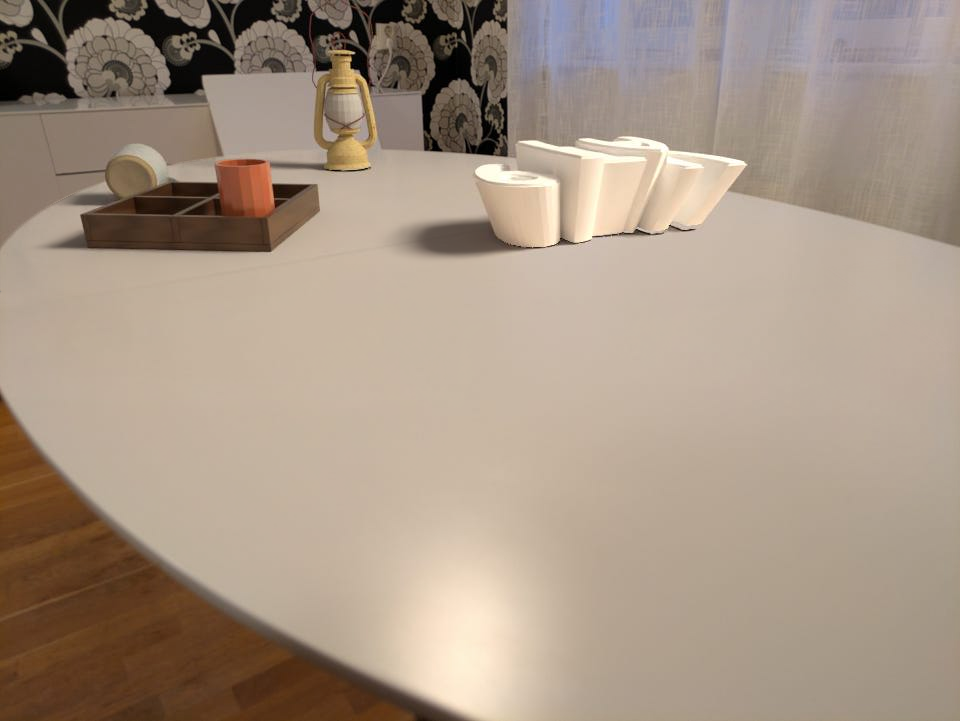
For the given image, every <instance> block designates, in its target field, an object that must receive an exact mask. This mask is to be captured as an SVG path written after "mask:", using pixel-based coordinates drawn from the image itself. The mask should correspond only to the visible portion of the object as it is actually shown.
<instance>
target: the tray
mask: <svg viewBox="0 0 960 721" xmlns="http://www.w3.org/2000/svg"><path fill="white" fill-rule="evenodd" d="M272 188H273V196H274V205H275V209H274V210H272V211H271V212H269V213H268V214H266V215H265V216H263V217H255V216H222V210H221V204H220V197H219V190H218V184H217V181H181V182H173V181H168V182H165V183H163V184H160V185H157V186H155V187H152V188H149V189H147V190H144V191H141V192H139V193H136V194H133V195H131V196H128V197H126V198H123V199H120V198H119V199H118V200H115V201H112V202H110V203H107V204H105V205H101V206H99V207H96V208H94V209H91V210H89V211H86V212H83V213H80V214H79V216H80V217H79V218H80V221H81V224H82V229H83V233H84V238H85V241H86V245H87V246H86V247H87V248H93V247H94V248H97V249H100V248H101V249H141V250H144V249H147V250H190V251H193V250H194V251H197V250H198V251H237V252H238V251H239V252H273V251H274V250H275V249H276V248H277V247H278V246H279V245H281V244H282V243H283V242H284V241H286V240H287V239H288V238H289V237H291V236H292V235H293V234H294V233H295V232H296V231H298V230H299V229H300V228H301V227H303V226H304V225H305V224H306V223H308V222H309V221H310V220H311V219H312V218H314V217H315V216H316V215H317V214H318V213H319V212H321V208H320V196H319V195H320V194H319V185H318V183H280V182H279V183H277V182H275V183H274V182H272ZM94 248H93V249H94Z"/></svg>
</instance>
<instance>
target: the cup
mask: <svg viewBox="0 0 960 721" xmlns="http://www.w3.org/2000/svg"><path fill="white" fill-rule="evenodd" d="M214 171H215V176H216V182H217V184H218V190H219V197H220V204H221V210H222V216H255V217H263V216H265V215H266V214H268V213H269V212H271V211H272V210H274V209H275V205H274V196H273V188H272V183H273V181H272V174H271V173H272V172H271V171H272V170H271V163H270V161H269V160H267V159H262V158H261V159H260V158H234V159H233V158H232V159H224V160H218V161H216V162H214Z"/></svg>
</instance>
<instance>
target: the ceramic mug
mask: <svg viewBox="0 0 960 721" xmlns="http://www.w3.org/2000/svg"><path fill="white" fill-rule="evenodd" d="M167 164H168V163H167V162H166V161H165V159H164V157H163V156H162V154H160V153H159V152H158V151H157V150H156V149H154V148H153V147H151V146H149V145H146V144H143V143H129V144H126V145H124V146H122V147H120V148H119V149H118V150H117V151H116V153H114V154H113V156H112V157H111V158H110V159H109V161H108V162H107V164H106V166H105V170H104V179H105V183H106V185H107V187H108V189H109V190H110V192H111V193H113V195H115V196H116V197H117V198H119V200H120V199H123V198H126V197H128V196H131V195H133V194H136V193H139V192H141V191H144V190H147V189H149V188H152V187H155V186H157V185H160V184H163V183H165V182H168V181H173V182H182V181H181V180H179V179H177V178H175V177H173V176H171V175H169V169H168V165H167Z"/></svg>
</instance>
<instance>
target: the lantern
mask: <svg viewBox="0 0 960 721" xmlns="http://www.w3.org/2000/svg"><path fill="white" fill-rule="evenodd" d="M331 1H332V0H328V1H327V2H325V3H323V4H321V5H319V6H318V7H316V9H314V10H313V12H312V13H311V14H310V17H309V27H308V28H309V29H308V30H309V31H308V36H309V40H310V43H311V48H312V53H313V54H312V55H313V59H314V66H313V69H312V74H311V81H312V84H313V86H314V88H316V93H315V101H314V102H315V103H314V115H313V138H314V141H315V143H316V144H317V145H318V146H319V147H320V148H321V149H323V150H327V151H326V163H325V164H324V165H323V168H324V169H325V170H326V169H331V170H345V169H357V168H364V167H368V166H370V165H372V164H371V163H370V162H369V161H368V160H369V158H368V152H367V150H368V149H370V148H372V147H373V146H374V145H375V144H376V141H377V138H378V131H377V124H376V118H375V113H374V108H373V104H372V99H371V95H370V90H369V87H370V85H371V83H372V77H371V76H372V75H371V71H370V67H369V53H370V50H371V47H372V43H373V37H374V36H373V35H374V34H373V26H372V22H371V19H370V17H369V15H368V14H367V13H366V12H364V11H363V10H362V9H360V8H358V7H355V6H353V5H351V4H349V3H347V2H346V1H344V0H340V2H341V3H343V4H344V5H346V6H348V7H350V8H352V9H355V10H356V11H357V10H358V11H359V12H360V13H363V14H364V15H365V16H366V17H367V19H368V22H369V25H370V26H369V27H370V33H371V37H370V43H369V47H368V50H367V54H366V55H367V56H366V65H367V70H368V75H369V76H368V77H369V83H367V80H366V78H364V77H363V76H362V75H361V74H358V73H355V69H354V68H351V62H352V55H356V52H355V51H351V50H347V49H346V47H344V48H342V47H341V46H339V47H338V48H336V47H335V42H334V38H335V36H336V35H337V34H340V35H341V36H342V37H343V38H344V45H347V44H346V42H347V40H346V39H347V38H346V36H344V34H343V33H341V32H340V31H336V32H335V33H334V34H333V35H332V38H331V39H332V46H333V48H334V49H333V50H329V51H325V54H326V55H329V59H330V60H329V61H330V62H331V66H332V68H328V73H325V74H322V75H321V76H320V77H319V78H318V80H317V82H316V83H315V81H314V73H315V70H316V66H317V61H316V60H317V59H316V56H315V55H316V54H315V47H314V43H313V41H312V37H311V25H312V16H313V15H314V14H315V13H316V11H318V10H320V8H322V7H324V6H326V5H328V4H329V3H330V2H331ZM358 88H359V90H358ZM359 93H360V95H359ZM324 117H325V122H326V124H327V125H328V128H329V129H330V132H331V133H334V134H336V135H337V137H336V139H335V140H334V141H330V140H326V139H325V138H324V136H323V135H324V134H323V132H324V131H323V130H324V129H323V128H324ZM364 117H365V119H366V120H365V121H366V125H367V126H366V127H367V130H368V131H367V132H368V137H367V138H366V139H365V140H357V139H356V137H355V134H357V133H359V132H360V131H361V127H362V126H361V125H362V123H363V118H364Z"/></svg>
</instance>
